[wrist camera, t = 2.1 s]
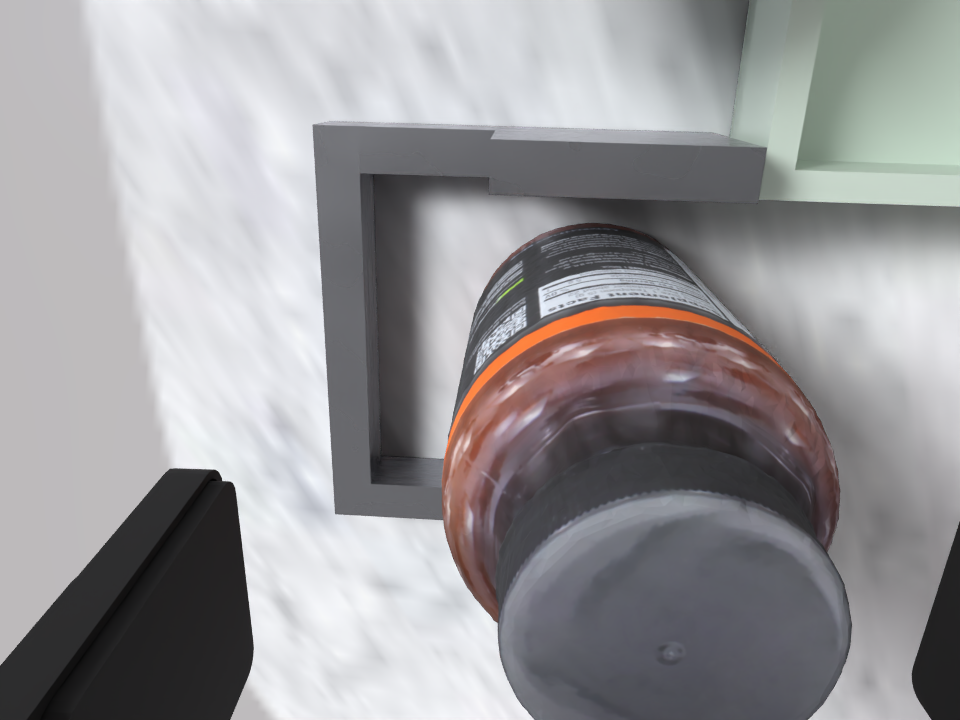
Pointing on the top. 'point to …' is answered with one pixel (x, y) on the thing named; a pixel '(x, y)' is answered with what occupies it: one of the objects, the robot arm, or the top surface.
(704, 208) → the top surface
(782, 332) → the top surface
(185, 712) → the robot arm
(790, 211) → the top surface
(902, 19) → the tray
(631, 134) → the bracket
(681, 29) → the top surface
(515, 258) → the supplement bottle
